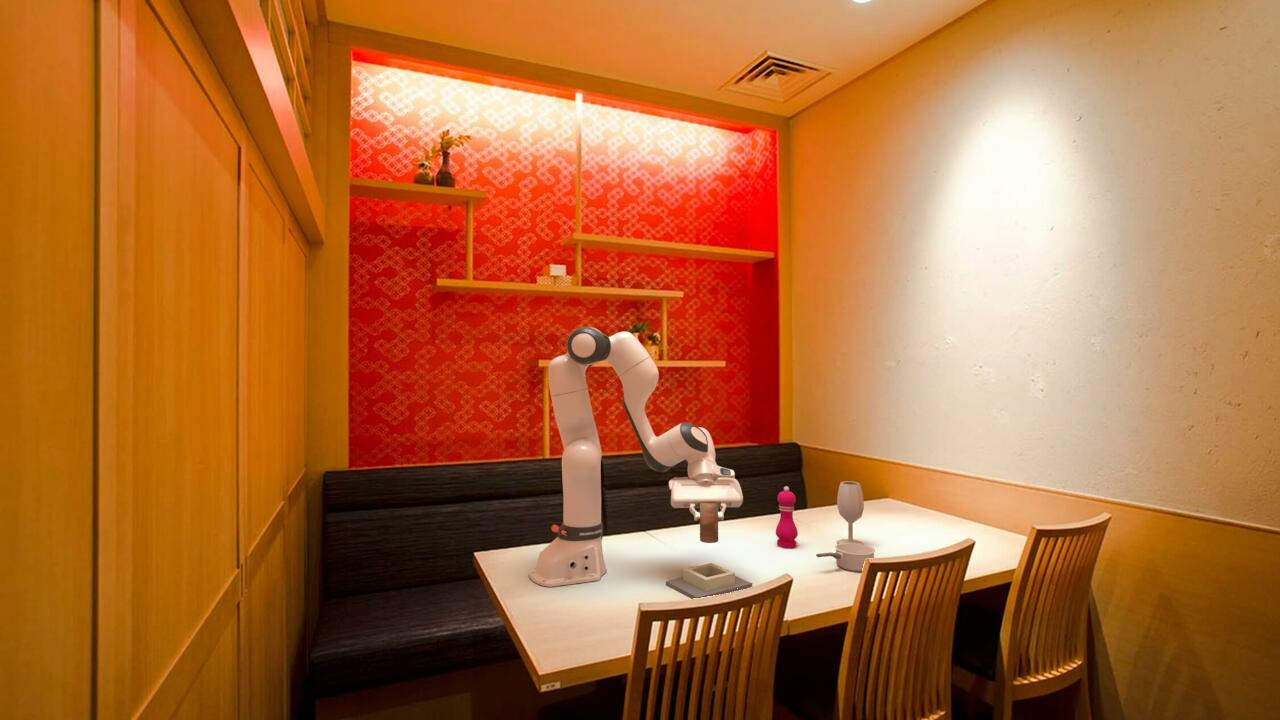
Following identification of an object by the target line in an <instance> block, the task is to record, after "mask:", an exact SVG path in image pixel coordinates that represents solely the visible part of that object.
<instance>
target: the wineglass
mask: <svg viewBox="0 0 1280 720" xmlns="http://www.w3.org/2000/svg"><path fill="white" fill-rule="evenodd" d="M837 492H838V493H837V498H836V502H837V503H836V505H837V510H838V514H839V515H840V517H842V518H843V519H844V520H845V521H846V523H847V524H848V531H847V534H848V538H842V539H838V540H836V544H837V545H838V544H843V543H853V544H861V545H866V544H865V543H864V542H863V541H860V540H857V539H853V537H854V534H853V533H854V531H853V530H854V529H853V528H854V527H853V524H854V523H856V522H857V521H858V520H860V518H862V516H863V513H864V509H865V508H864V507H865V505H864V504H865V503H864V502H865V501H864V494H863V490H862V486H861V483H859V482H858V481H857V482H856V481H840V484H839V487H838V491H837Z"/></svg>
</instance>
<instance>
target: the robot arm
mask: <svg viewBox="0 0 1280 720" xmlns="http://www.w3.org/2000/svg"><path fill="white" fill-rule="evenodd" d="M566 350H567V351H566V352H567V353H565V354H563V355H558V356H556V357H555V358H553V359H552V360H551V361H550V362H549V364H548V369H547V370H548V372H547V373H548V376H547V377H548V386H549V393H550V399H551V403H552V408H553V413H554V418H555V423H556V425H557V429H558V431H559V436H560V438H561V443H562V447H563V453H562V456H561V474H562V475H561V478H562V479H561V480H562V493H563V494H562V495H563V511H562V513H563V519H562V520H563V522H562V523H561V525H560V526H559V525H557V524H552V526H551V531H552V532H554V533H557V536H556V537H555V539H553V540H552V541H551V543H549V544H548V545H547V546H546V547H545V548H543V550H542V551H540V552H539V554H538V557H537V561H536V567H535V568H531V569H530V570H529V571H528V577H529V579H530V580H531V581H532V582H534V583H535V584H538V585H540V586H543V587H547V588H548V587H549V588H550V587H552V588H553V587H559V586H566V585H574V584H581V583H589V582H596V581H600V580H601V578H602V576H603V575H604V574H606V573H607V571H608V570H607V567H606V563H605V558H604V553H603V543H602V542H603V536H604V535H603V522H602V480H601V479H602V477H601V476H602V474H601V472H602V471H601V469H602V468H601V465H602V464H601V462H602V455H603V454H602V447H601V443H600V437H599V433H598V430H597V429H598V428H597V424H596V421H595V417H594V413H593V409H592V404H591V399H590V393H589V389H588V384H587V383H588V382H587V378H586V377H587V376H586V371H587V369H589V368H590V367H592V366H594V365H595V364H598V363H599V362H601V361H602V362H603V361H604V362H607V363H608V364H609V365H610V366H611V367H612V368H613V370H614V371H615V374H617V376H618V377H619V379H620V381H621V384H622V388H623V396H622V403H623V407H624V410H625V413H626V414H627V418H628V420H629V422H630V425H631V427H632V430H633V431H634V433H635V436H636V438H637V441H638V443H639V445H640V448H641V451H642V455H643V457H644V458H643V459H644V460H645V464H647V466H648V467H649V468H650V469H652V470H654V471H656V472H659V473H666V472H667V471H669V470H670V469H671V468H673V467H675V466H676V465H678V464H679V463H682V462H683V461H686V462H687V475H688V476H682V477H678V476H674V477H673V478H671V479H669V481H668V489H669V490H670V491H671V492H670V494H671V495H670V506H671V507H672V508H673V509H688V510H689V512H690V513H691V514H692V516H693V518H694V521H696V522H697V521H699V522H700V519H701V517H700V511H697V510H696V509H697V508H698V509H700V503H702V502H715V503H718V508H719V510H720V511H718V521H724V519H725V516H724V513H725V511H726V508H740V507H741V506H742V505H743V502H744V496H743V491H742V487H741V485H740V482H739V481H738V480H737V479H736V478H735V477H736V473H735V471H734V470H733V469H730V468H727V467H723V466H720V465H718V464H717V461H716V457H717V456H716V449H715V445H714V441H713V439H712V436H711V434H710V432H709V431H708V430H707V429H706V428H704V427H700V426H697V425H695V424H692V423H690V422H687V421H686V422H684V421H683V422H681V423H679V424H677V425H675V426H673V427H672V428H671V429H669V430H667V431H666V432H664V433H662V434H661V435H659V436H656V435H655V433H654V431H653V428H652V425H651V423H650V421H649V419H648V417H647V415H646V409H645V408H646V403H647V401H648V399H649V398H650V396H651V395H652V394H653V392H654V391H655V389H656V387H657V385H658V383H659V378H660V376H659V375H660V373H659V370H658V367H657V365H656V363H655V361H654V360H653V358H652V357H651V355H650V354H649V352H648V351H647V349H646V348H645V347H644V346H643V344H642V343H641V342H640V341H639V339H637V338H636V336H635V335H634V334H633V333H631V332H629V331H620V332H616V333H615V334H613V335H610V336H608V335H607V334H605V333H603V332H601V331H600V330H599V329H597V328H595V327H591V326H582V327H578V328H576V329H575V330H573V331H572V332H571V333H570V334H569V336H568V338H567V341H566Z"/></svg>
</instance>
